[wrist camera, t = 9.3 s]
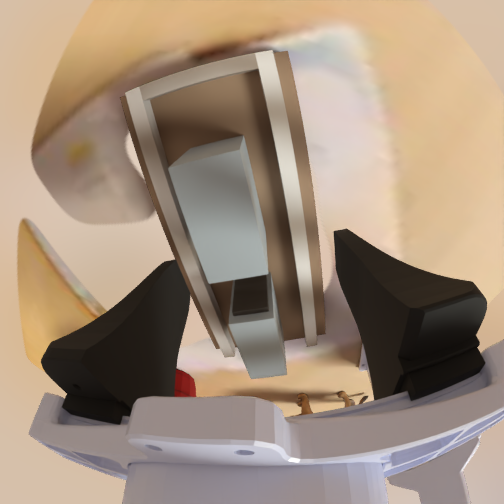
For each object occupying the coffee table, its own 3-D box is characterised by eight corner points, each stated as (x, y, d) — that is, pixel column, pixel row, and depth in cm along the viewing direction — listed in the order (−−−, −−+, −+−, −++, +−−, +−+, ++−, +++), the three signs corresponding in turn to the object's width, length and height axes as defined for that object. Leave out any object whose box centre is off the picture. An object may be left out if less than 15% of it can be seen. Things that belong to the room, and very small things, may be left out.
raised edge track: (322, 322, 27) (334, 375, 21) (217, 337, 28) (211, 390, 23) (285, 54, 14) (300, 33, 9) (129, 96, 16) (78, 103, 10)
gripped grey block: (243, 135, 16) (239, 150, 12) (266, 236, 20) (269, 279, 16) (190, 148, 17) (167, 168, 12) (219, 245, 20) (210, 289, 16)
